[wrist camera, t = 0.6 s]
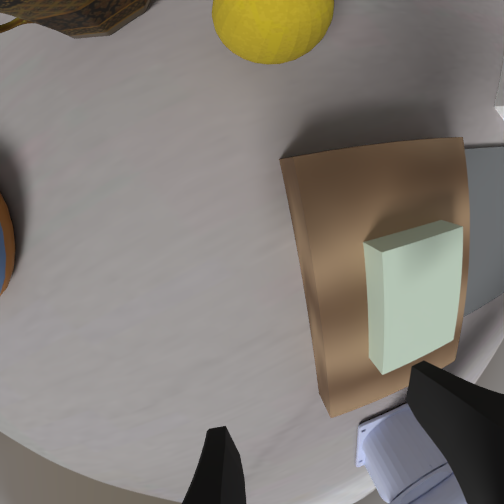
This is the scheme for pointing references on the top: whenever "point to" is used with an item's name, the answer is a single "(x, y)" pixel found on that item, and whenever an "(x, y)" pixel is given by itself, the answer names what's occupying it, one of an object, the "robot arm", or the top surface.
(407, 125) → the top surface
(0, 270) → the doughnut
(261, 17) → the lemon
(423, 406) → the robot arm
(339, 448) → the top surface
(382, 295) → the tile
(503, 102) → the soap bar
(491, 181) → the mat
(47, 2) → the ceramic cup
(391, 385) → the board
